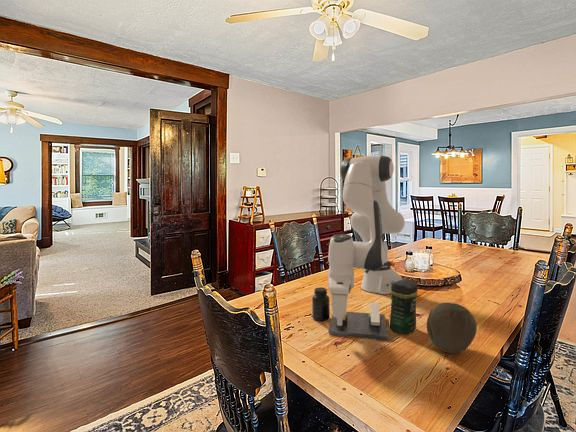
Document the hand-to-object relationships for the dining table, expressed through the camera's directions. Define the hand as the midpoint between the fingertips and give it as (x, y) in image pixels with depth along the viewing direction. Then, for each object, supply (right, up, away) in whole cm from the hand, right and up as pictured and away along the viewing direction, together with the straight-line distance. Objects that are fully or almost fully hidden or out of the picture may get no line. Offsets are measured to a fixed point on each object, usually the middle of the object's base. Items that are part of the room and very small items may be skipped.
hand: (340, 320), depth 114 cm
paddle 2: (+14, -1, +6) cm, 15 cm away
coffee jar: (+23, -5, +4) cm, 24 cm away
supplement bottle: (-5, -4, +15) cm, 17 cm away
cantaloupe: (+34, -7, -9) cm, 36 cm away
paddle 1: (+2, 0, +9) cm, 9 cm away
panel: (+8, -5, +8) cm, 12 cm away
